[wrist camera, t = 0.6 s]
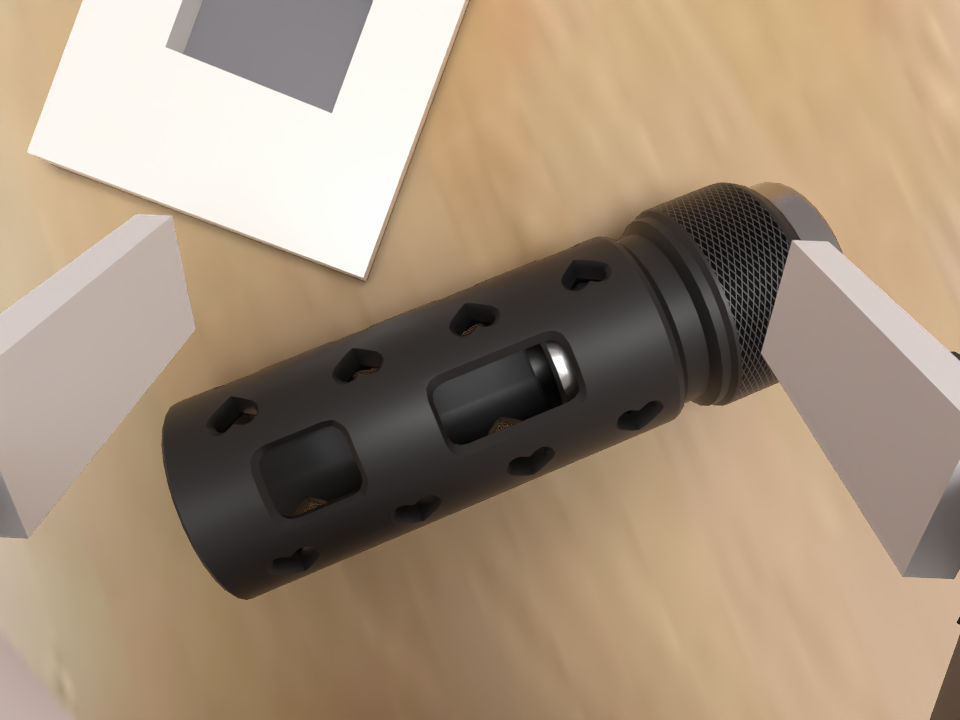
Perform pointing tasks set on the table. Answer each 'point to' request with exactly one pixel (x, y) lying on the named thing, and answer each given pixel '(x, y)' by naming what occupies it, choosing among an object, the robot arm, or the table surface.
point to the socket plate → (254, 112)
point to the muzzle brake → (483, 387)
